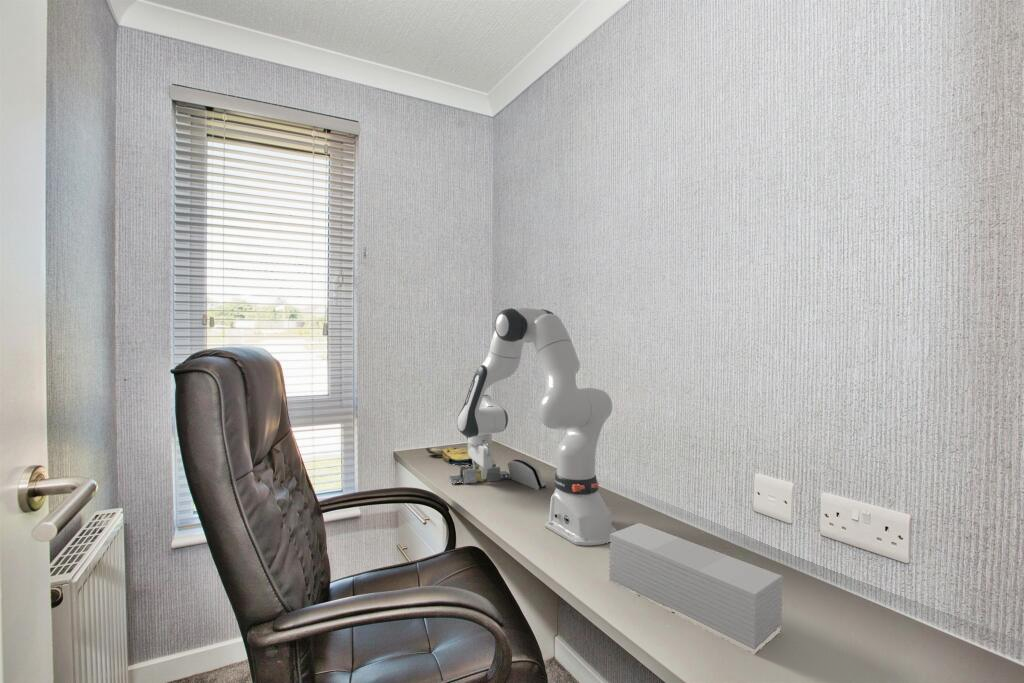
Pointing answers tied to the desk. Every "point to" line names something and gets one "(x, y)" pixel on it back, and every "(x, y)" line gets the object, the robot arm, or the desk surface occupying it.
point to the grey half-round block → (525, 473)
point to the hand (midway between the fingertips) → (479, 474)
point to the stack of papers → (698, 582)
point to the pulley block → (453, 455)
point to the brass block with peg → (479, 475)
